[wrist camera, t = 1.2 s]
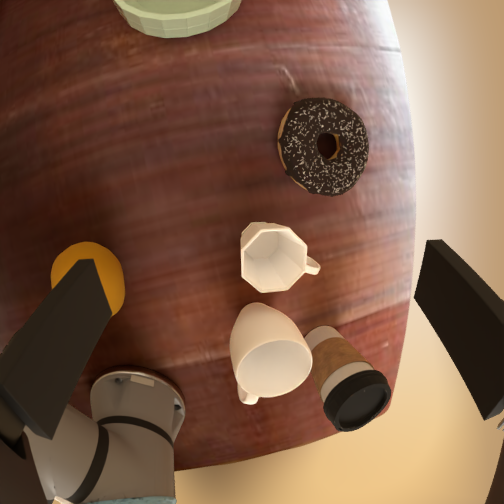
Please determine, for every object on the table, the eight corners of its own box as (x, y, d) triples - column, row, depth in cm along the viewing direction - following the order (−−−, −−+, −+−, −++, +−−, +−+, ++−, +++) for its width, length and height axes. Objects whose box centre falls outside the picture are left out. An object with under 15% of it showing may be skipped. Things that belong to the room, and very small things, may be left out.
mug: (236, 280, 38) (252, 330, 27) (294, 296, 40) (327, 345, 30) (207, 355, 41) (214, 414, 30) (261, 365, 43) (280, 421, 32)
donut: (350, 97, 33) (366, 92, 29) (364, 186, 37) (380, 191, 33) (265, 105, 32) (274, 100, 28) (284, 203, 36) (294, 209, 32)
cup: (241, 201, 35) (254, 215, 28) (315, 229, 38) (344, 248, 30) (220, 256, 37) (228, 283, 29) (294, 279, 39) (316, 308, 32)
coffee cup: (282, 346, 43) (317, 421, 29) (326, 307, 42) (378, 372, 28) (314, 371, 46) (352, 440, 31) (354, 336, 45) (404, 398, 31)
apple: (146, 285, 36) (134, 322, 28) (90, 308, 36) (68, 346, 27) (114, 219, 33) (90, 240, 25) (57, 248, 32) (25, 275, 24)
